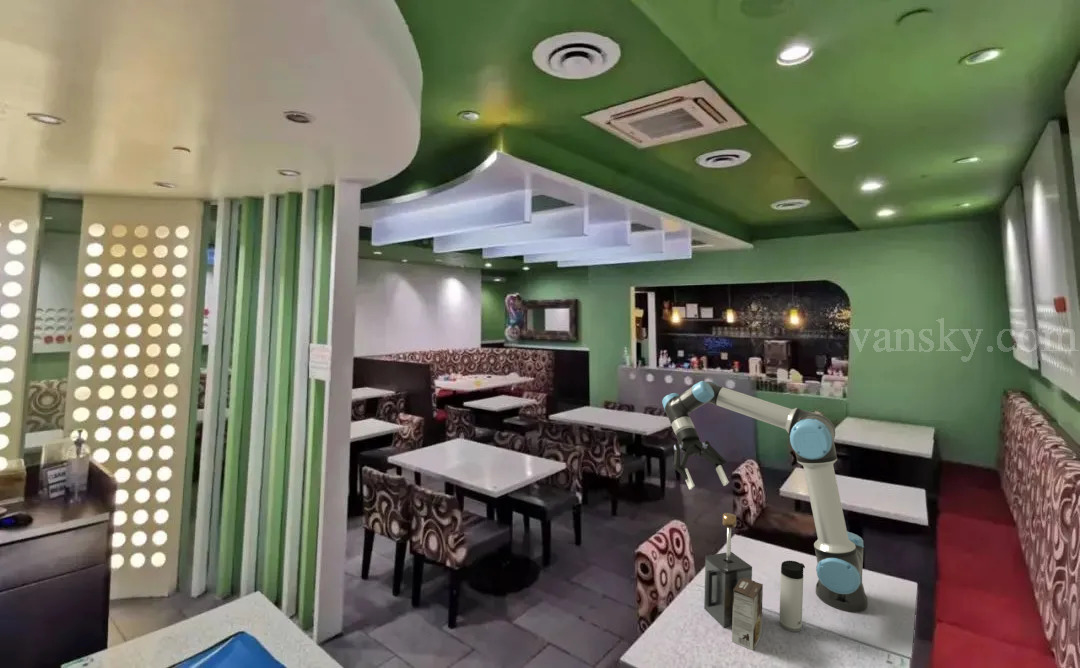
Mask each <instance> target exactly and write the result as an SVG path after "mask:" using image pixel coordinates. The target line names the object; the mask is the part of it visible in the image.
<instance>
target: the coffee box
mask: <svg viewBox="0 0 1080 668" xmlns="http://www.w3.org/2000/svg"><path fill="white" fill-rule="evenodd" d="M763 585H764V584H763V583H761V582H757V581H756V580H755V581H754V580H753V579H752V580H750V579H747V578H744V577H741V579H740V580H739V582H738V583H737V585H736V586H735V588H734V589H733V622H732V626H731V628H732V629H731V631H732V632H731V642H733V643H735V644H737V645H739V646H741V647H744V648H747V649H749V650H751V651H755V648H756V646H757V645H758V642H759V641H760V638H761V636H762V633H763V631H762V630H763V621H762V620H763V594H764V593H763V589H764V588H763Z"/></svg>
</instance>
